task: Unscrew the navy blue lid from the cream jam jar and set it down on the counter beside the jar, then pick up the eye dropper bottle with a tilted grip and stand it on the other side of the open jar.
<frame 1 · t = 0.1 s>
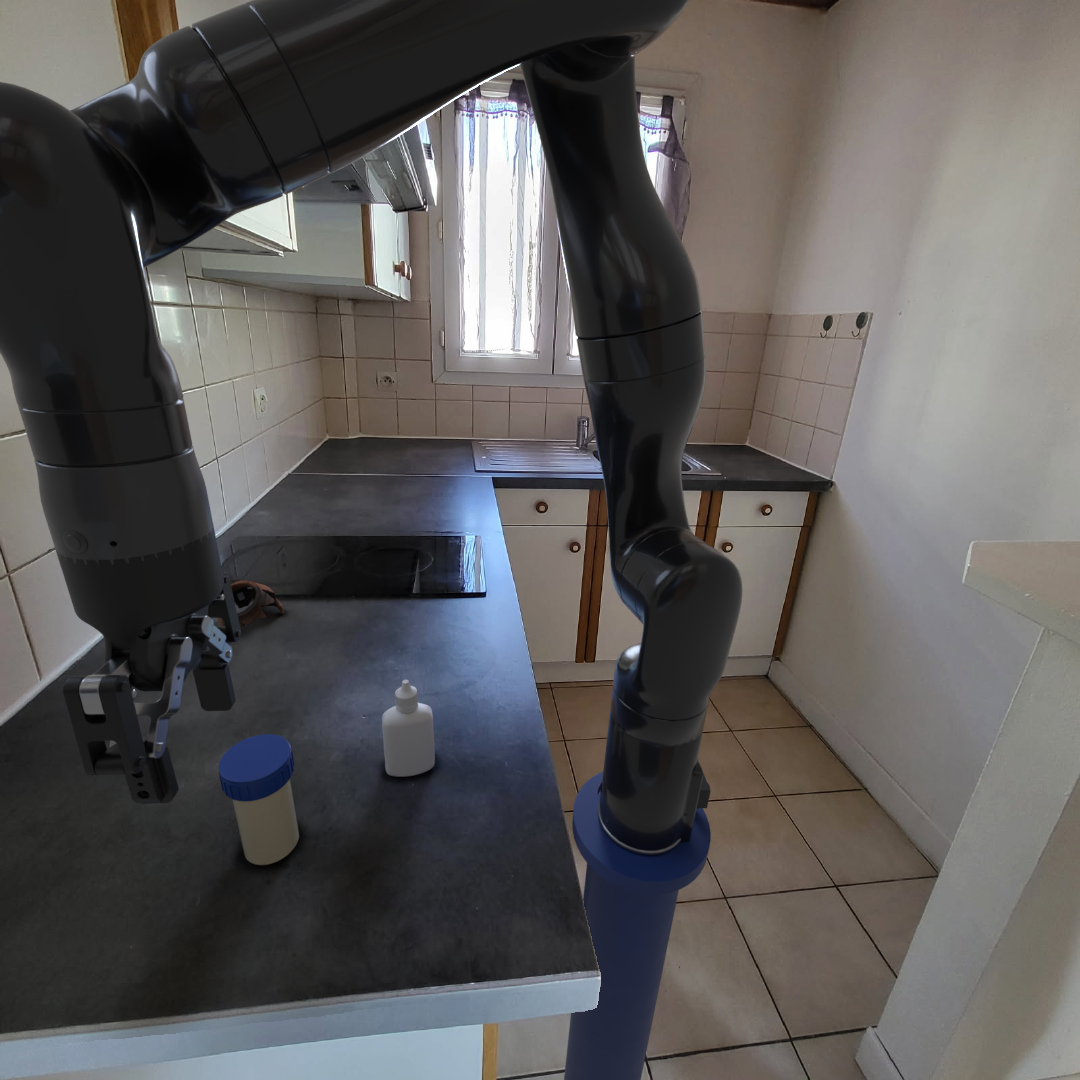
hand: (192, 748, 38), 21 cm above the counter, tool pointing down, fingers open, 8 cm apart
lid: (256, 760, 51), point 11 cm above the counter, screwed on, not yet turned
brown curved piece: (250, 620, 94), on the counter
jar: (272, 842, 55), on the counter
eye dropper bottle: (410, 767, 66), on the counter
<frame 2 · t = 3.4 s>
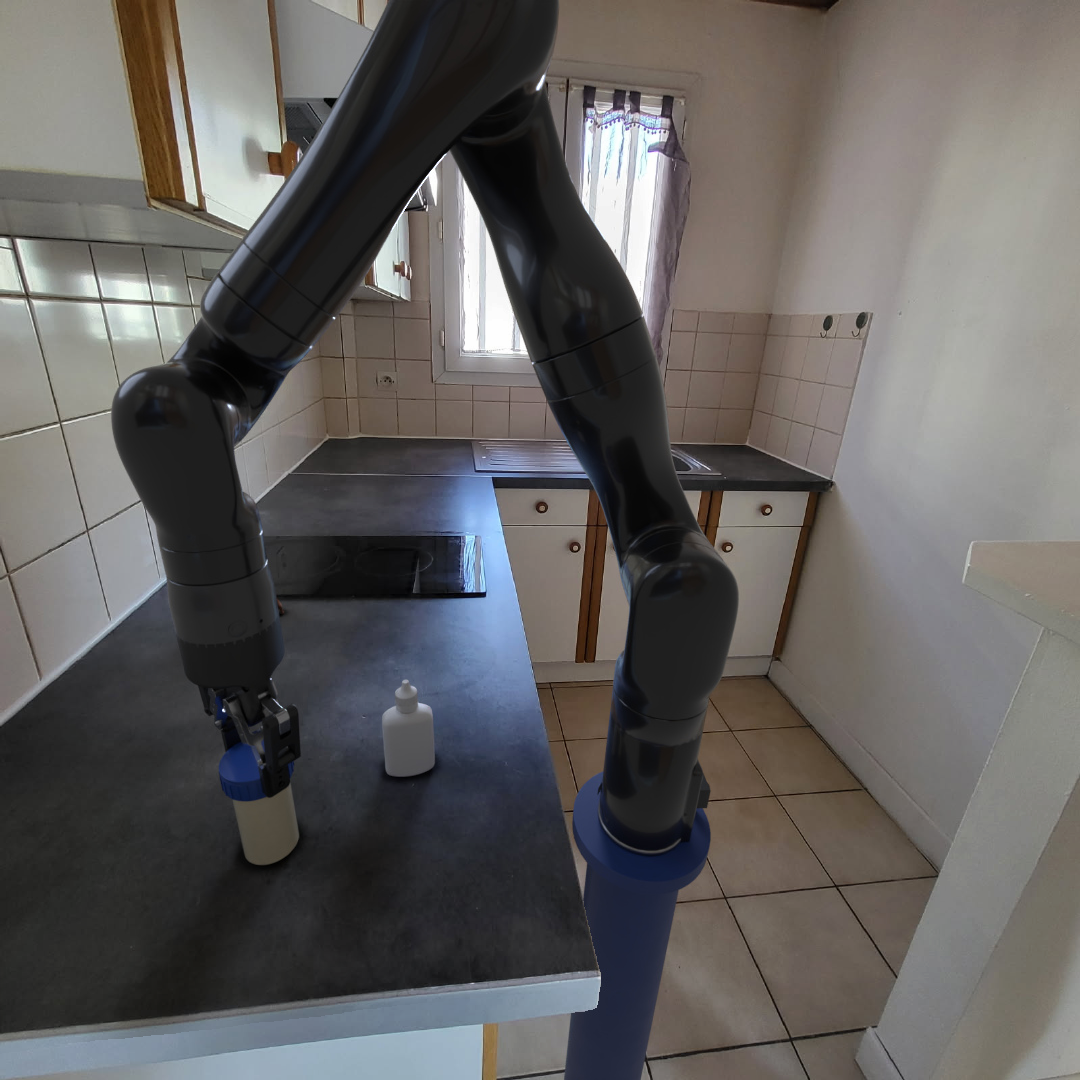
hand: (258, 772, 52), 9 cm above the counter, tool pointing down, fingers closed on lid, 6 cm apart
lid: (256, 760, 51), point 11 cm above the counter, screwed on, not yet turned, touching gripper
everything else where it was.
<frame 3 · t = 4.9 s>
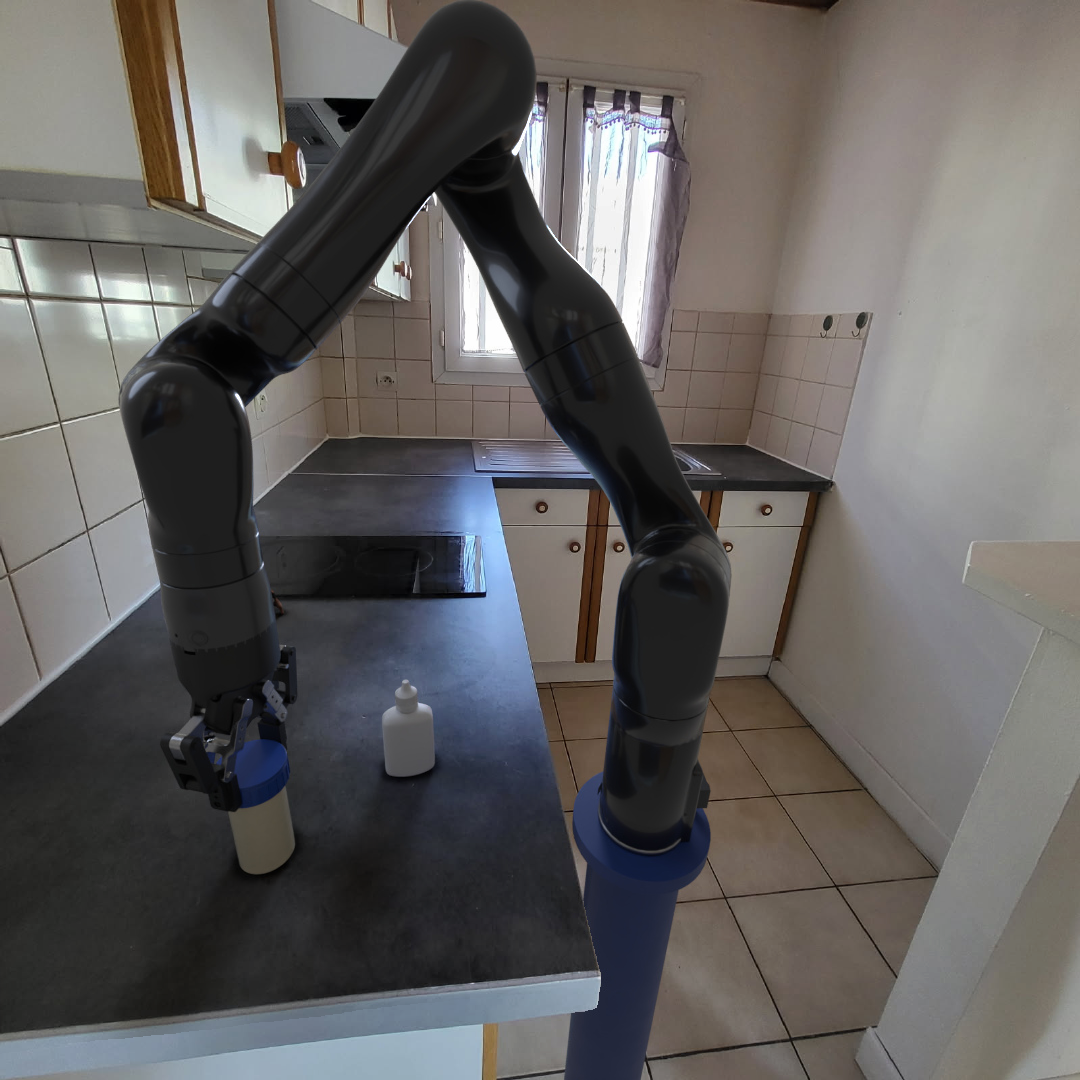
hand: (253, 778, 51), 9 cm above the counter, tool pointing down, fingers closed on lid, 6 cm apart
lid: (251, 766, 50), point 11 cm above the counter, off its thread, touching gripper
when the fingers open (0 cm above the counter, at t = 13.4 s): lid stays where it is, point 2 cm above the counter.
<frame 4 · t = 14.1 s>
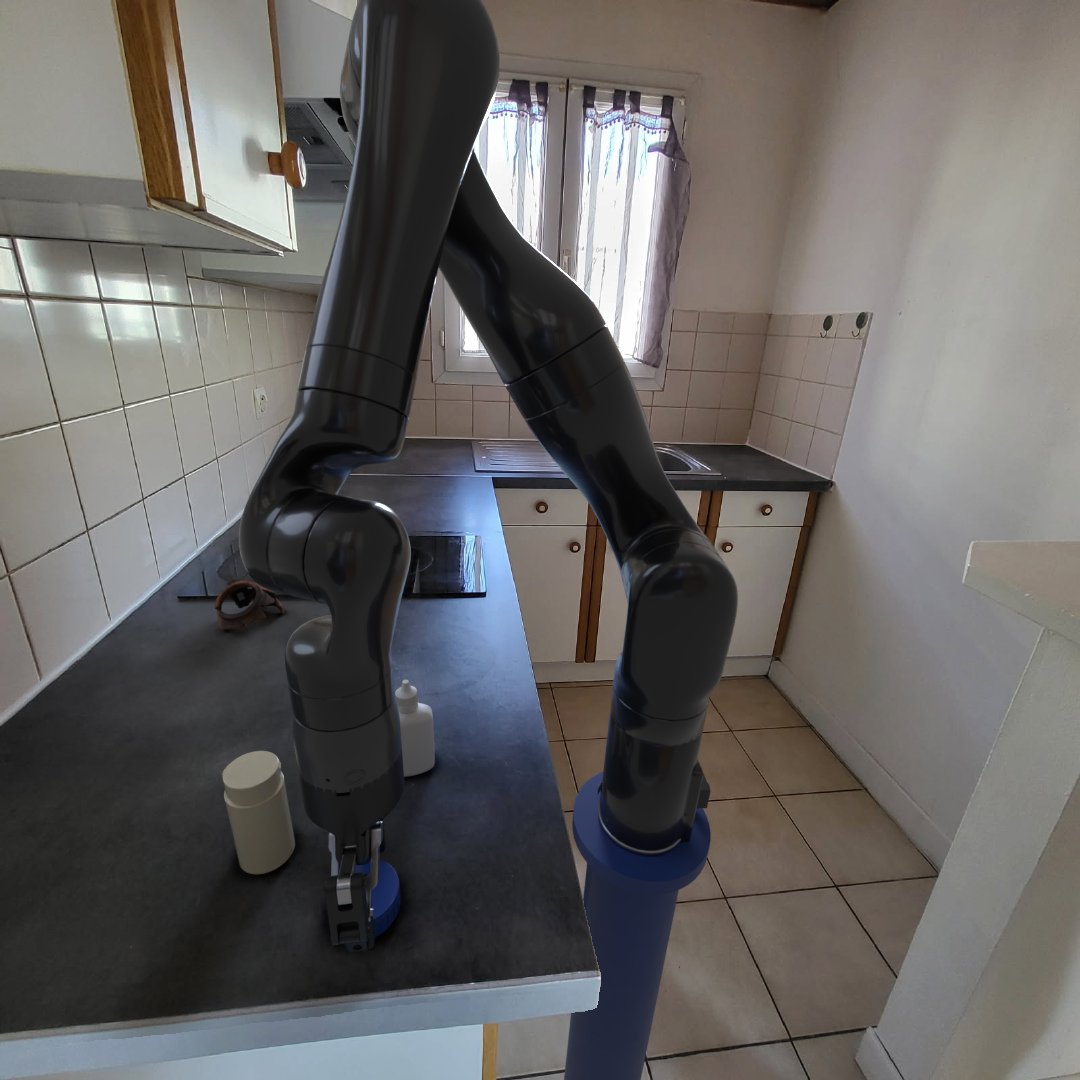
hand: (367, 894, 48), 3 cm above the counter, tool pointing down, fingers open, 8 cm apart
lid: (364, 892, 49), point 2 cm above the counter, off its thread
everything else where it was.
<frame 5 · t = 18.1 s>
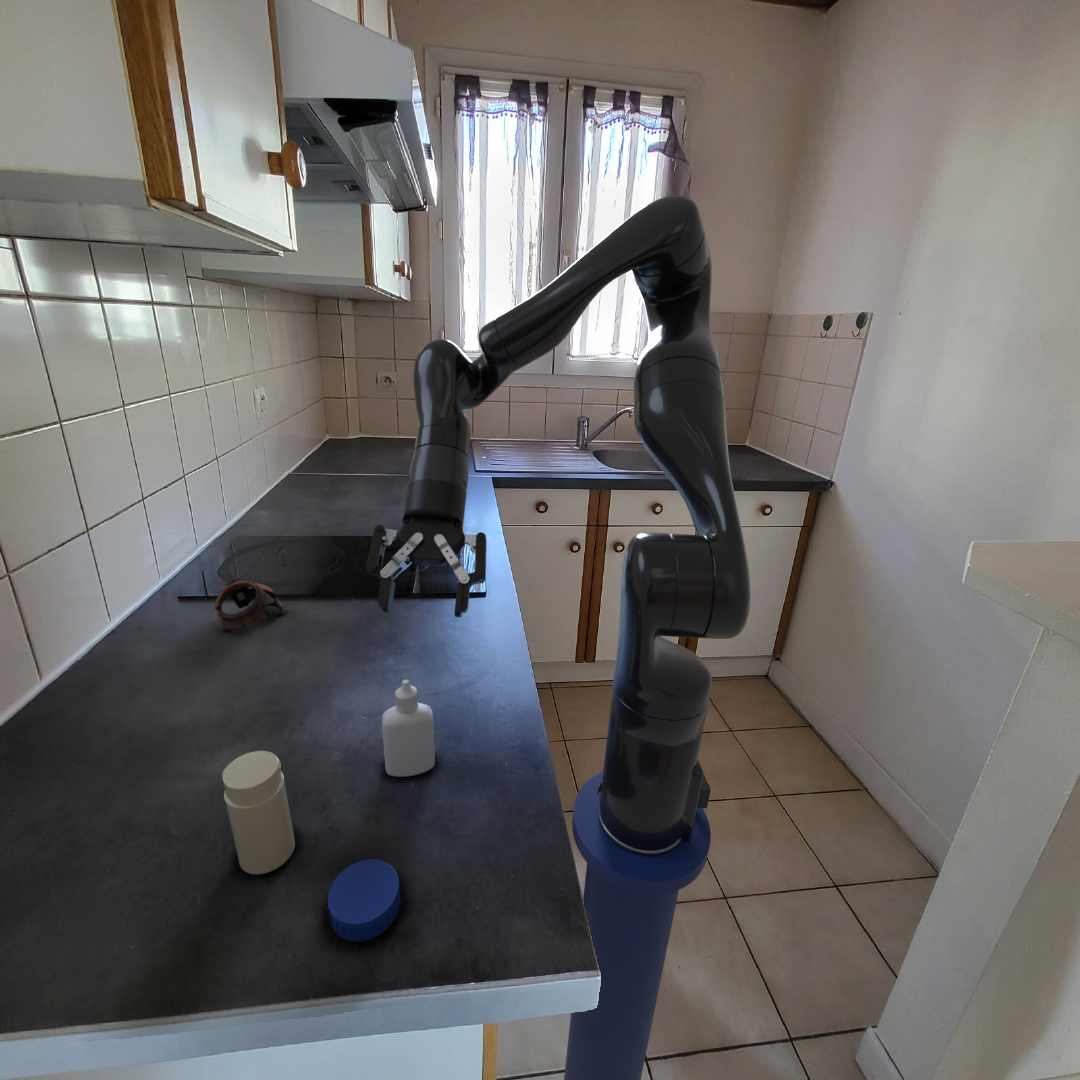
hand: (422, 614, 67), 16 cm above the counter, tool tilted 40°, fingers open, 8 cm apart
nothing on the counter moved.
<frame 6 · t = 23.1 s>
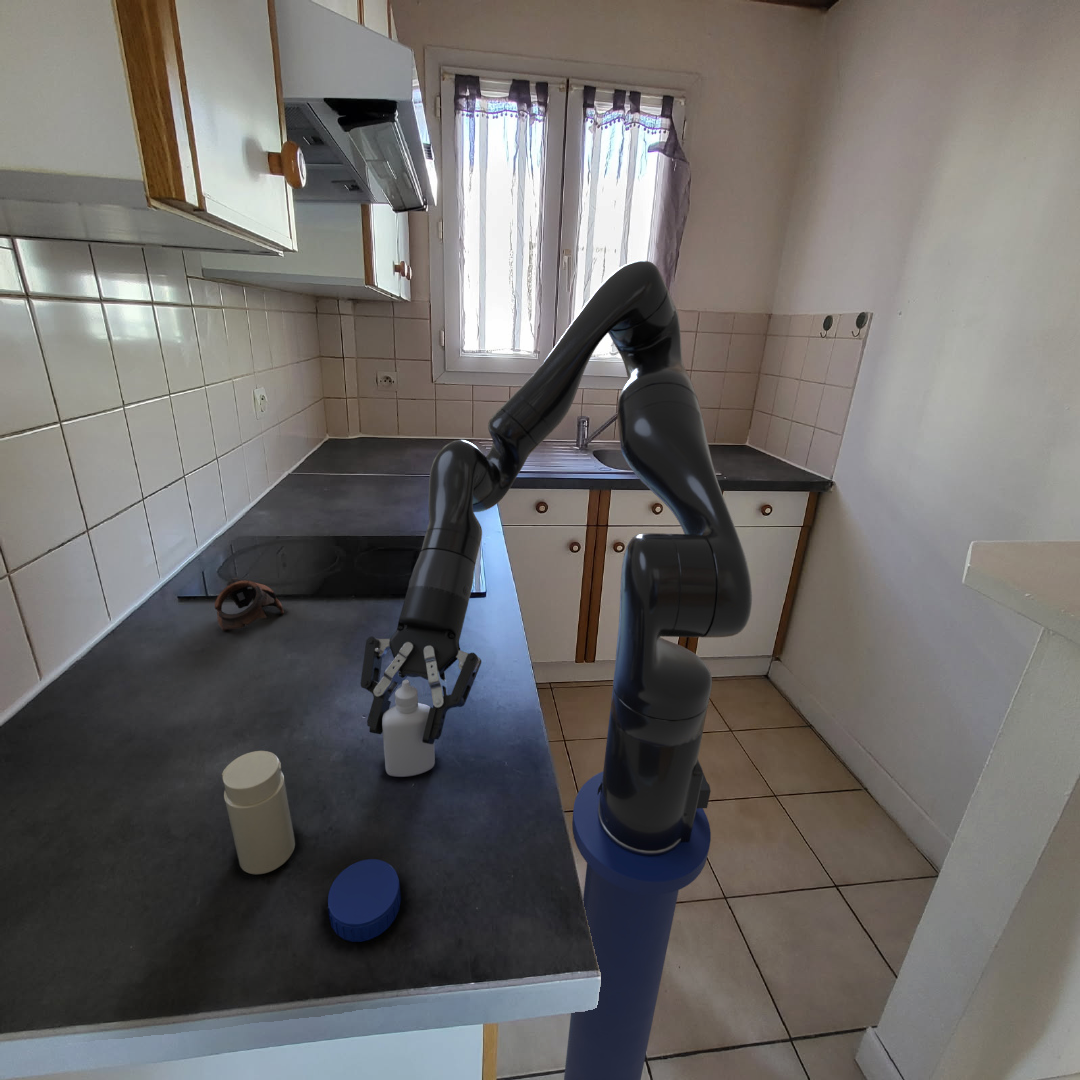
hand: (401, 737, 62), 6 cm above the counter, tool tilted 45°, fingers closed on eye dropper bottle, 5 cm apart
eye dropper bottle: (410, 767, 66), on the counter, touching gripper
everything else where it was.
when the fingers open (6 cm above the counter, at t = 31.5 s): eye dropper bottle stays where it is, on the counter.
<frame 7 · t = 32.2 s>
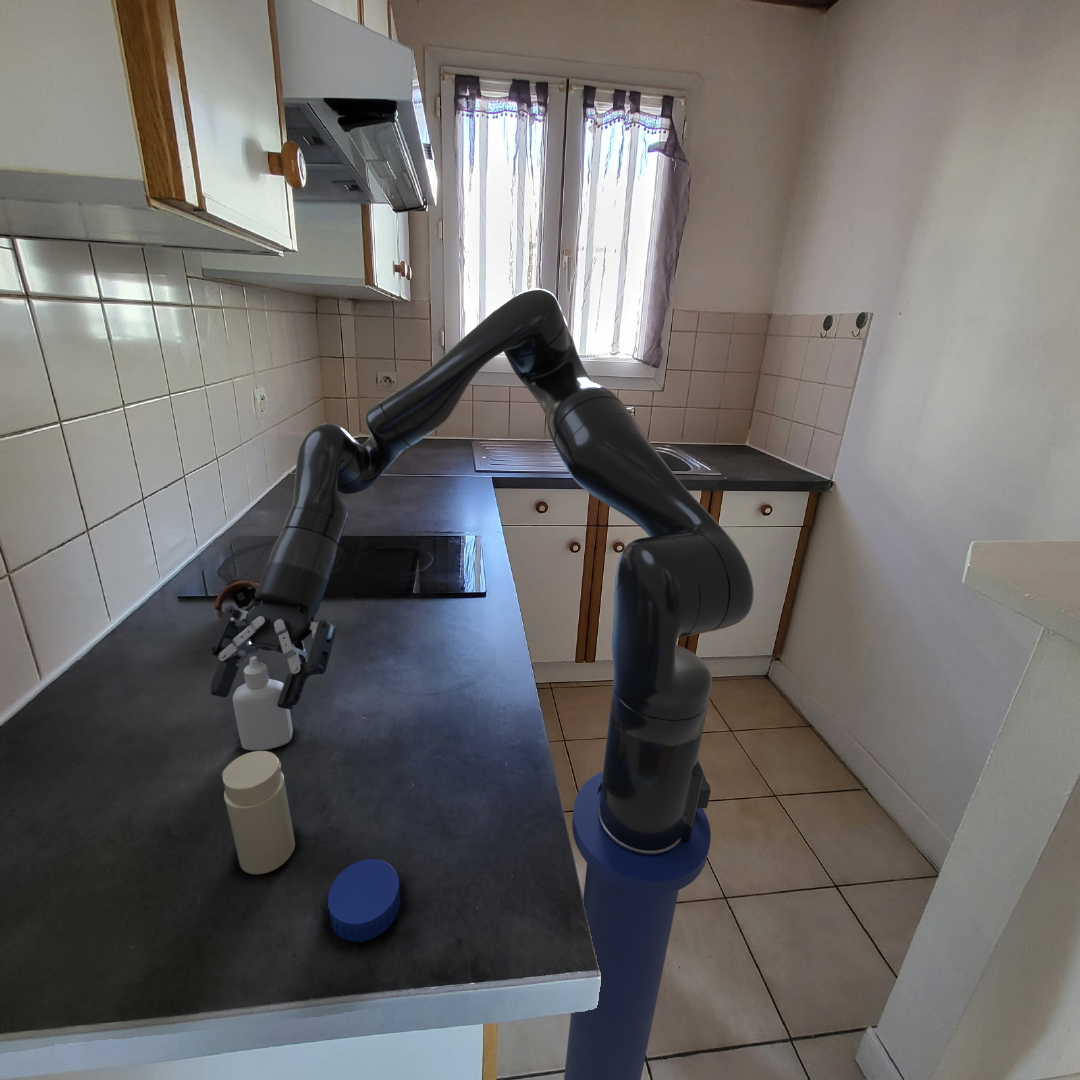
hand: (250, 702, 64), 7 cm above the counter, tool tilted 45°, fingers open, 8 cm apart
eye dropper bottle: (268, 742, 68), on the counter
everything else where it was.
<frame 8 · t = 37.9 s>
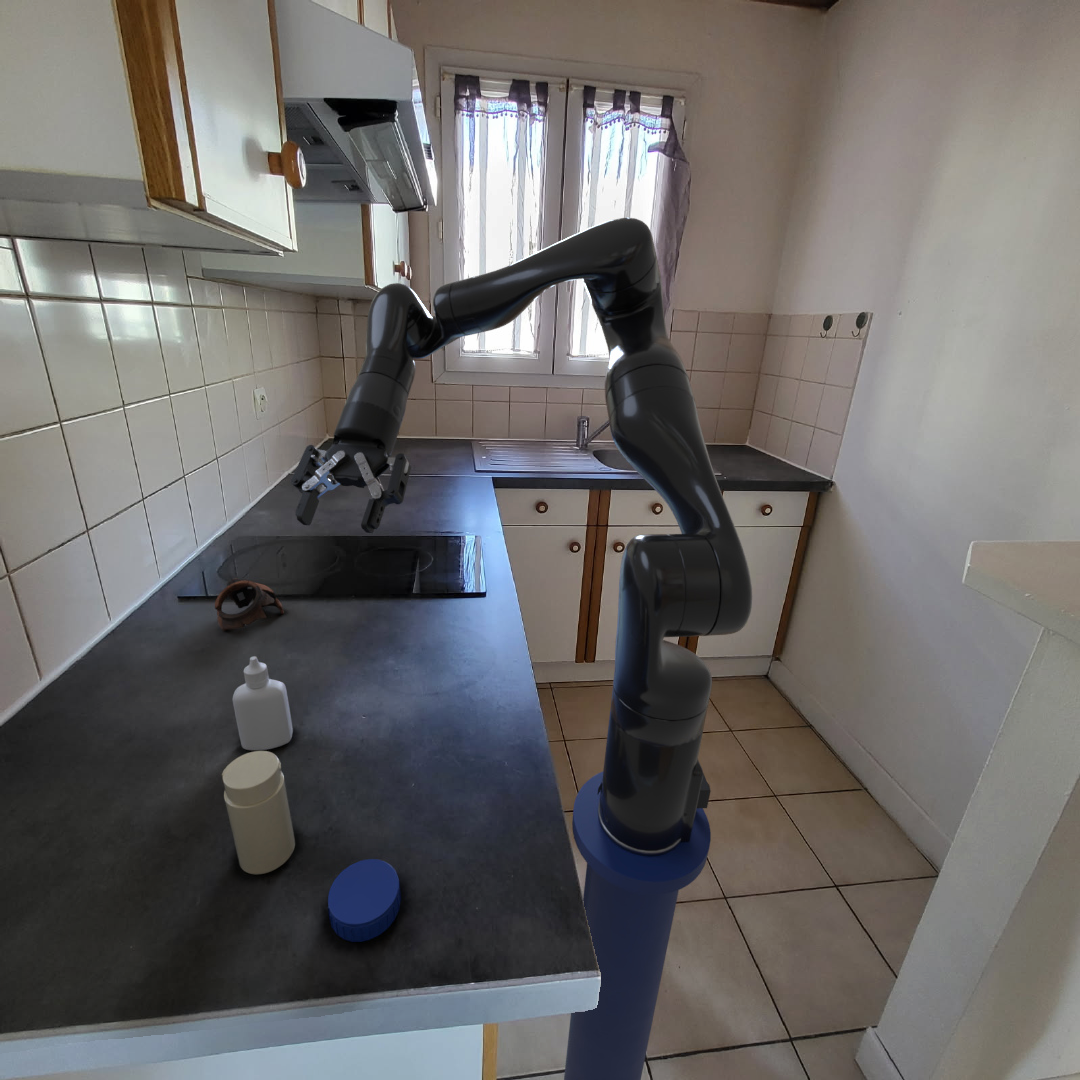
hand: (334, 526, 68), 25 cm above the counter, tool tilted 45°, fingers open, 8 cm apart
nothing on the counter moved.
at the end: lid point 1.9 cm above the counter; the gripper is holding nothing; eye dropper bottle inside the target area (0.2 cm from its centre), on the counter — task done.
